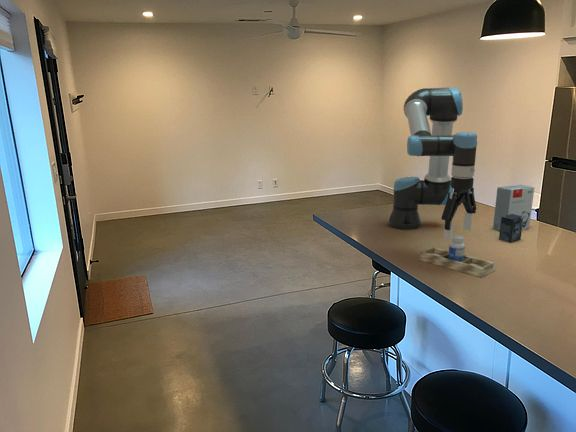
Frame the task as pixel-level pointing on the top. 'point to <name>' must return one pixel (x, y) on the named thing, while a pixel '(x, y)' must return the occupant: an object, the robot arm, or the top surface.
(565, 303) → the top surface
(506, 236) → the box
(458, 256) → the pill bottle
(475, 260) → the three-compartment tray
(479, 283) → the top surface
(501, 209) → the hard drive box
